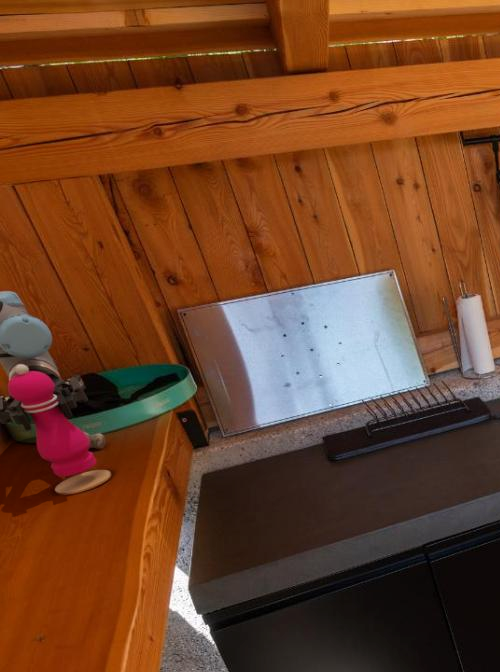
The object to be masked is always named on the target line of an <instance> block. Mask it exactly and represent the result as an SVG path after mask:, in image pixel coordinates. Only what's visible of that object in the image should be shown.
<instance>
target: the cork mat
mask: <svg viewBox="0 0 500 672" xmlns="http://www.w3.org/2000/svg"><path fill="white" fill-rule="evenodd" d="M111 477H112V472H111V471H110V470H107V469H95V470H90V471H89V470H88V471H84V472H81V473H79V474H75V475H72V476H71V477H68V478H66V479H65V480H62V481H61V482H60V483H59V484H57V485H56V486H55V488H54V491H55V493H56V494H58V495H62V496H64V495H65V496H66V495H75V494H79V493H83V492H86V491H88V490H92V489H94V488H97V487H98V486H100V485H103V484H104V483H106V482H107V481H109V480H110V478H111Z"/></svg>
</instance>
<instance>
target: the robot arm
mask: <svg viewBox="0 0 500 672" xmlns="http://www.w3.org/2000/svg"><path fill="white" fill-rule="evenodd" d="M52 344H53V336H52V332H51V330H50V329H49V327H48V326H47V324H46V323H45V322H44V321H43V320H42V319H40V318H38V317H36V316H33V315H31V314H30V313H29V312H28V311H27V308H26V305H25V304H24V303H23V302H22V300H21V298H20V296H19V294H17V293H16V292H14V291H9V290H4V291H3V290H2V291H0V365H1V366H2V368H3V370H4V371H5V373H6V375H7V377H8V382H9V381H10V380H11V379H12V378H13V377H14V376H16V375H18V374H17V373H16V372H15V367H16V366H17V365H19V364H23V365H26V366H27V367H28V369H29V371H36V372H41V373H44V374H46V375H47V376H49V377H50V378H51V380H52V381H53V383H54V385H55V390H54V392H53V394H54V395H56V396H57V399H58V400H59V406H60V408H61V409H62V411H63V412H64V413H63V414H65V417H66V418H67V419H68V420H69V419H74V415H73V413H72V411H71V410H72V409H74V408H77V407H78V405H77V402H80V403H85V402H87V401H89V398H88V397H87V394H86V393H85V391H84V390H86V388H87V387H86V385H85V383H84V381H83V380H82V377H81V376H80V375H74V376H72V377H71V378H68V379H67V381H65V380H64V379H62V377H61V376H60V373H59V368H58V366H57V364H56V362H55V360H54V359H53V358H52V356H51V354H50V352H49V350H50V348H51V346H52ZM29 371H28V372H29ZM70 390H72V392H71V391H70ZM21 404H22V402H20V401H18V400H16V399H14V398H13V397H12V396H11V395H10V393H9V392H8V395H7V396H6V397H5V396H4V395H2V396H0V423H1V424H2V425H3V424H4V425H6V424H9V423H10V422H11V421H12V422H13V424H16V425H17V426H23V428H24V430H25V431H26V432H27V431H31V430H32V429H33V428H32V424H31V419H30V417H29V415H28V414H29V413H26V412H24V409H23V407H21Z"/></svg>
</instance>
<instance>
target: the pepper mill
mask: <svg viewBox="0 0 500 672" xmlns="http://www.w3.org/2000/svg"><path fill="white" fill-rule="evenodd" d="M28 371H29V369H28V367H27V366H26V365H23V364H19V365H17V366H16V367H15V372H16V373H17V374H18V375H16V376H14V377H13V378H12V379H11V380H10V381H9V380H8V383H7V391H8V394H9V393H10V395H11V396H12V397H13V398H14V399H16V400H18V401H20V402H22V404H21V407H23V409H24V412H26V413H28V414H29V416H30V417H31V419H32V421H33V423H34V426H35V430H36V431H35V432H36V448H37V449H36V450H37V451H38V454H39V455H40V457H41V459H43V460H45V461H47V462H49V463H50V462H51V464H50V468H51V469H52V471H53V473H54V474H55V476H58V477H70V476H71V477H72V476H76V475H78V474H81V473H85V472H87V471H89V470H90V469H91V468H93V467H95V466H96V465H97V459H96V457H95V455H94V453H93V452H92V451H89V450H90V449H89V447H90V441H89V439H88V437H87V436H86V434H85V433H84V432H85V431H83V430H81V429H80V428H79V427H78V426H76V425H75V424H74V423H72V422H71V421H70V420H69V419H68V418H67V416H66V415H64V413H63V412H62V410H61V407H60V403H59V400H58V399H57V396H56V395H54V394H53V392H54V390H55V385H54V383H53V381H52V380H51V378H50V377H49V376H47V375H46V374H44V373H41V372H36V371H29V372H28Z"/></svg>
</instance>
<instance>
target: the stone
mask: <svg viewBox="0 0 500 672" xmlns="http://www.w3.org/2000/svg"><path fill="white" fill-rule="evenodd" d="M83 432H84V433H85V434H86V436H87V437H88V439H89V441H90V447H89V449H88V450H90V449H97V450H102V449H104V448H105V446H106V437H105V436H104V434H102V433H94V434H90V433H89V432H85V431H83Z"/></svg>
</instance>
